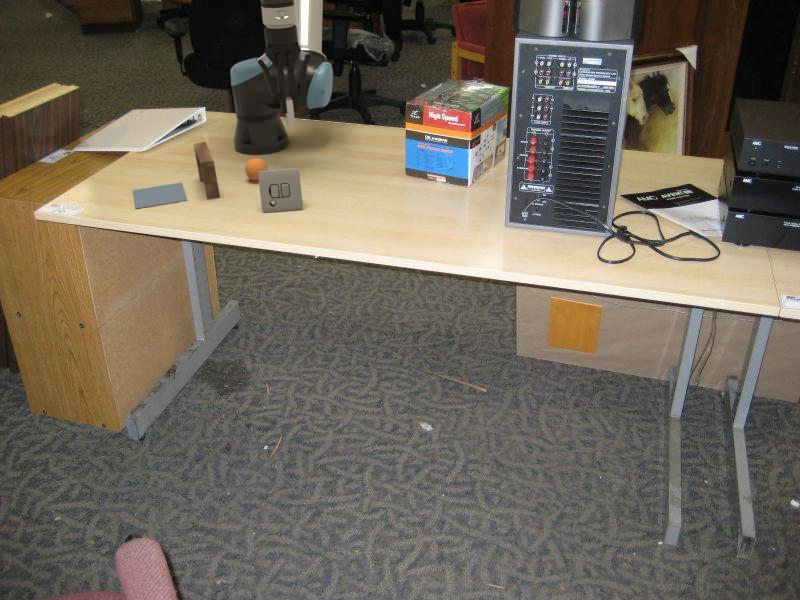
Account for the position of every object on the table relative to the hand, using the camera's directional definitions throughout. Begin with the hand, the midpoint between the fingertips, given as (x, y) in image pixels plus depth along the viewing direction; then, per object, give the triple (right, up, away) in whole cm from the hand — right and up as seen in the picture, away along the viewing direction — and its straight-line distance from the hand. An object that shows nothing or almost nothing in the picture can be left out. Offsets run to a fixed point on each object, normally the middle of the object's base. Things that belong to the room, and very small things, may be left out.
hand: (291, 125), depth 183 cm
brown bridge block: (-20, -15, +1) cm, 25 cm away
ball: (-9, -10, +3) cm, 14 cm away
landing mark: (-31, -18, -3) cm, 36 cm away
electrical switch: (0, -22, -11) cm, 24 cm away
